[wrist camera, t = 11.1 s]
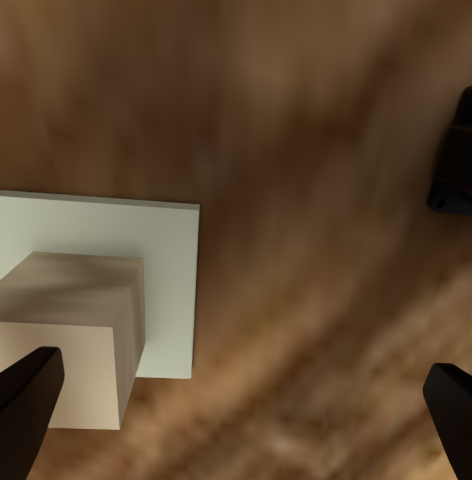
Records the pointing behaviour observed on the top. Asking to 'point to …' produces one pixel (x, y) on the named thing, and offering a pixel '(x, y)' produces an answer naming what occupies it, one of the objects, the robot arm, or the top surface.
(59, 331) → the birch cube
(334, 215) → the top surface
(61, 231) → the sage board
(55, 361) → the robot arm
